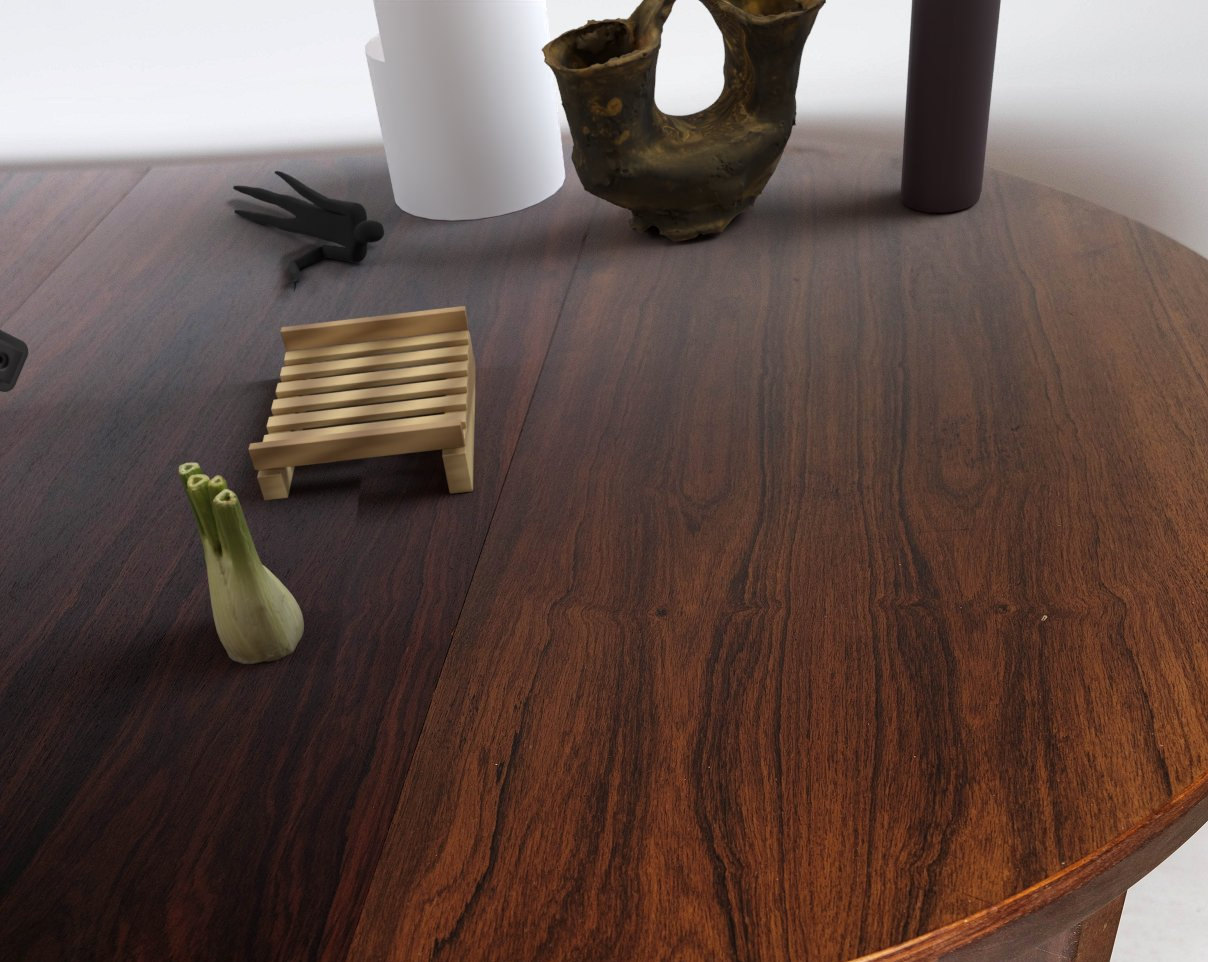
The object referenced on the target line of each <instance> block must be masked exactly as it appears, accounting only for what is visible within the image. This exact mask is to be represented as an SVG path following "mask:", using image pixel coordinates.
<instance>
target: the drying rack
mask: <svg viewBox="0 0 1208 962" xmlns="http://www.w3.org/2000/svg"><path fill="white" fill-rule="evenodd" d="M280 336H281V339H282V342H283V346H284V349H285V351H286V352H285V354H284V358H283V363H284V366H282V367H281V370H280V372H279V373H280V374H279V378H280V381H281V382H277V385H276V389H275V396H276V399H273V401H272V405H271V409H270V410H271V414H272V416H268V420H267V423H266V430H267V433H268V434H264V435H263V439H262V441H260V442H252V443H249V446H248V453H249V456H250V460H251V462H252V465H253V468H254V471H258V473H257V477H256V478H257V481H258V485H259V487H260V491H261V493H262V497H263V500H264V501H270V500H279V499H280V500H281V499H288V498H289V494H290V489H291V486H292V480H293V477H294V471H295V467H300V466H308V465H316V464H317V465H318V464H326V463H334V462H335V463H336V462H343V461H351V460H361V459H371V458H378V457H386V456H395V455H404V454H405V455H406V454H411V453H412V454H413V453H421V452H430V451H438V450H442V453H441V457H442V462H443V463H442V464H443V467H444V472H445V476H446V483H447V487H448V491H449V494H451V495H452V494H459V493H469V492H473V491H474V464H475V463H474V462H475V461H474V458H475V422H476V421H475V419H476V418H475V415H476V414H475V413H476V412H475V411H476V372H477V371H476V369H477V367H476V361H475V356H474V355H475V354H474V349H473V344H472V338H471V333H470V331H469V320H468V315H467V309H466V306H465V305H459V306H453V307H445V308H444V307H443V308H435V309H428V310H427V309H426V310H419V311H409V312H401V313H393V314H384V315H383V314H382V315H375V316H367V317H358V318H350V319H340V320H333V321H324V322H316V323H306V324H298V325H289V326H282V327H281V329H280ZM434 414H435V415H434ZM425 415H426V416H425ZM406 417H408V418H406ZM389 419H390V420H389ZM380 420H381V421H380ZM364 422H365V423H364ZM321 427H322V428H321Z"/></svg>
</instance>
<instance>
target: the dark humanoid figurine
mask: <svg viewBox="0 0 1208 962" xmlns="http://www.w3.org/2000/svg"><path fill="white" fill-rule="evenodd" d="M274 174H275V175H276V176H278V177H279V178H281V180H283V181H284V182H285V183H286V184H288V186H290V187H291V188H292V189H293V190H294V191H295V192H296V193H297V194H298V195H299V196H301V197H303V198H304V199H306V200H307V201H305V200H303V199H300V198H297V197H295V196H292V195H288V194H283V193H277V192H274V191H271V190H268V189H264V188H261V187H253V186H247V185H234V186H233V187H232V189H233V190H234V191H236V192H239V193H241V194H243V195H247V196H249V197H252V198H253V199H256V200H259V201H261V202H264V203H267V204H270V205H274V206H276V207H280V208H281V209H283V210H285V211H287V212H289V214H292V215H293V216H294V217H281V216H277V215H272V214H270V213H269V214H267V213H263V212H253V211H250V210H243V209H234V213H235V214H236V215H237V216H240V217H242V218H244V219H247V220H249V221H251V222H253V223H256V224H261V225H263V226H269V227H272V228H276V229H279V230H281V231H285V232H290V233H295V234H300V235H306V236H309V237H312V238H315V239H319V240H323V241H326V242H330V243H334V244H338V246H337V245H329V244H323V245H320V246H318V247H315V248H313V249H310V250H309V251H307V252H306V253H303V254H302V255H300V256H297V257H295V258H294V259H292V260H291V261H289V264H288V266H287V273H288V275H289V277H290V278H291V280H290V281H289V282H288V283H289V284H293V291H292V293H295V291H296V289H297V284H298V283H300V275H301V274H300V270H301V269H304V268H305V267H307V266H309V265H312V264H314V263H316V262H318V261H320V260H323V259H325V258H327V259H333V260H338V261H342V262H343V261H344V262H349V263H355V264H356V263H360V262H362V261H364V259H365V258H366V256H367V253H368V244H370V243H371V244H372V243H376V242H379V241H380V240H381V241H382V239H383V238H384V236H385V228H384V225H383V224H382V223H381V222H379V221H377V220H373V219H368V214H367V210H366V208H365V207H364V205H362V204H361V203H359V202H355V201H349V200H340V199H336V198H330V197H328V196H326V195H324V194H322V193H320V192H318V191H317V190H315V189H313V188H311V187H309V186H307V184H305V183H303V182H301V181H300V180H298V179H296V178H295V177H293V176H291V175H289V174H287V173H285V172H283V171H280V170H275V171H274ZM339 245H340V246H339Z"/></svg>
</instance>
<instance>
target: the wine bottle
mask: <svg viewBox="0 0 1208 962" xmlns="http://www.w3.org/2000/svg"><path fill="white" fill-rule="evenodd" d="M1001 2H1002V0H911V11H910V12H911V13H910V28H909V43H908V45H909V46H908V63H907V78H906V97H905V111H904V126H903V127H904V128H903V129H904V130H903V146H902V148H903V149H902V161H901V162H902V163H901V179H900V196H901V201H902V203H903V204H904V205H905V206H906V207H908V208H910V209H913V210H916V211H919V212H924V213H931V214H933V213H935V214H942V213H943V214H944V213H945V214H946V213H952V212H958V211H961V210H965V209H968V208H971V207H972V206H974V205H976V203H978V201H979V200H980V197H981V194H982V189H983V183H984V182H983V181H984V180H983V179H984V173H985V172H984V171H985V160H986V149H987V141H988V131H989V120H990V113H991V112H990V111H991V103H992V90H993V81H994V72H995V71H994V70H995V64H996V63H995V61H996V54H997V53H996V52H997V41H998V33H999V32H998V31H999V22H1000V12H1001V4H1002V3H1001Z"/></svg>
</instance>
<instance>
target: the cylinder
mask: <svg viewBox="0 0 1208 962" xmlns="http://www.w3.org/2000/svg"><path fill="white" fill-rule="evenodd" d="M372 2H373V7H374V12H375V18H376V23H377V27H378V33H377V34H376V35H373V37H371V38H370V39H369V40H368V41H367V43H366V44H365V45H364V54H365V57H366V64H367V68H368V72H369V77H370V82H371V87H372V92H373V98H374V103H375V107H376V112H377V118H378V123H379V128H380V132H381V133H380V134H381V137H382V142H383V147H384V152H385V158H386V162H387V167H388V172H389V177H390V182H391V188H392V193H393V197H394V203H395V204H396V205H397V206H398V208H400V210H401V211H404V212H405V213H408V214H409V215H412V216H415V217H419V218H424V219H429V220H439V221H453V222H454V221H471V220H480V219H487V218H494V217H500V216H502V215H507V214H511V213H516V212H519V211H522V210H525V209H527V208H530V207H533V206H534V205H537V204H539V203H541V202H543V201H545V200H547V199H549V198H550V197H552V196H553V195H555V194H556V193H557V192H558V191H559V190H560V189H561V188H562V187H563V185H564V182H565V179H566V171H565V162H564V161H565V159H564V153H563V144H562V143H563V142H562V133H561V125H560V116H559V108H558V107H559V106H558V98H557V91H556V90H557V88H556V80H555V75H554V73H553V71H552V70H551V68H550V67H549V66H548V65H547V64H546V63H545V62H544V59H545V56H544V53H543V51H542V48H543V47H544V46H545V45H546V44H548V43H549V42H550V41H551V36H550V35H551V34H550V28H549V27H550V26H549V18H548V17H549V16H548V8H547V1H546V0H372Z"/></svg>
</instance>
